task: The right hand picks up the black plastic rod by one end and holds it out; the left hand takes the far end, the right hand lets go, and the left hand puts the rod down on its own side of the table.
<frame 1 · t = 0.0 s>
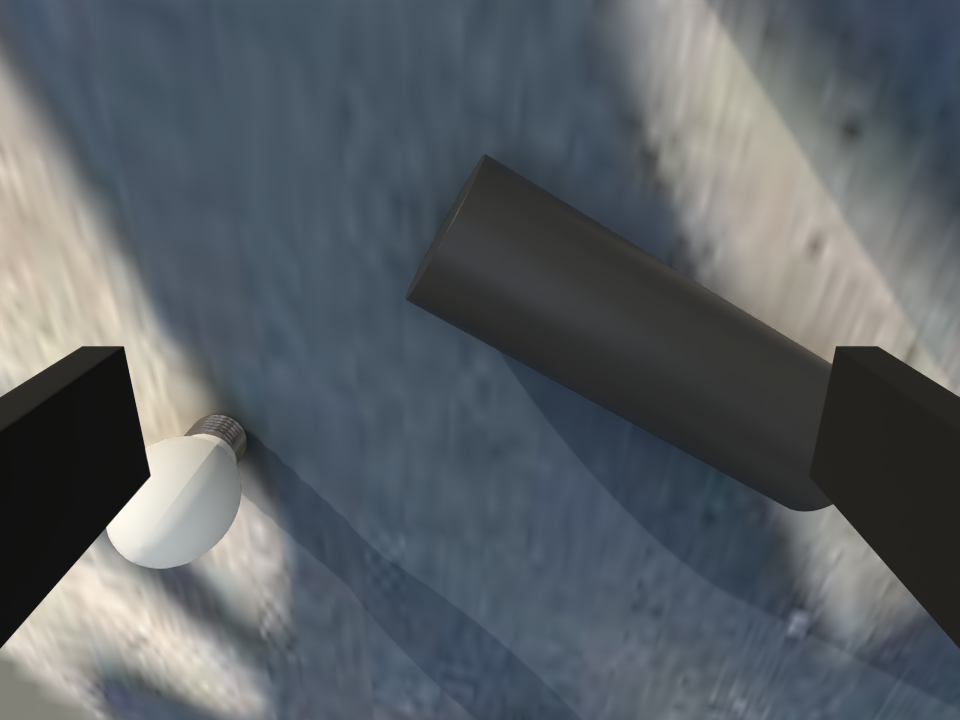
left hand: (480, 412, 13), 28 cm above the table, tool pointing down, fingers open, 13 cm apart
rod: (629, 319, 41), on the table
light bulb: (220, 441, 44), on the table
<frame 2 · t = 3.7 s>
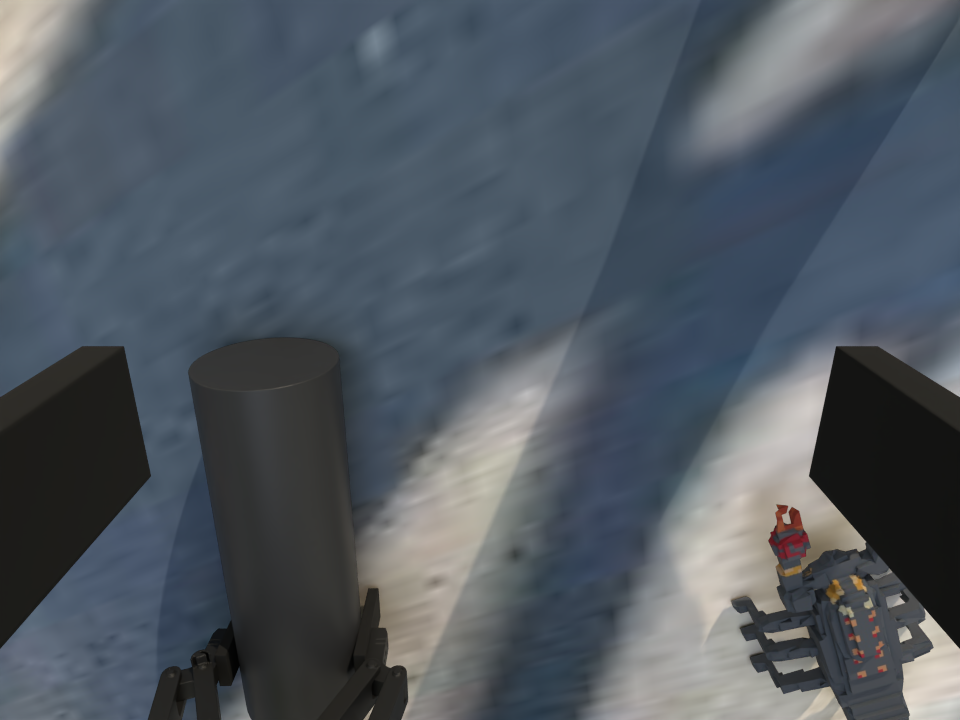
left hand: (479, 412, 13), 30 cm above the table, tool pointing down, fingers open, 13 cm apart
rod: (304, 504, 48), on the table, touching right hand
toy: (828, 589, 51), on the table
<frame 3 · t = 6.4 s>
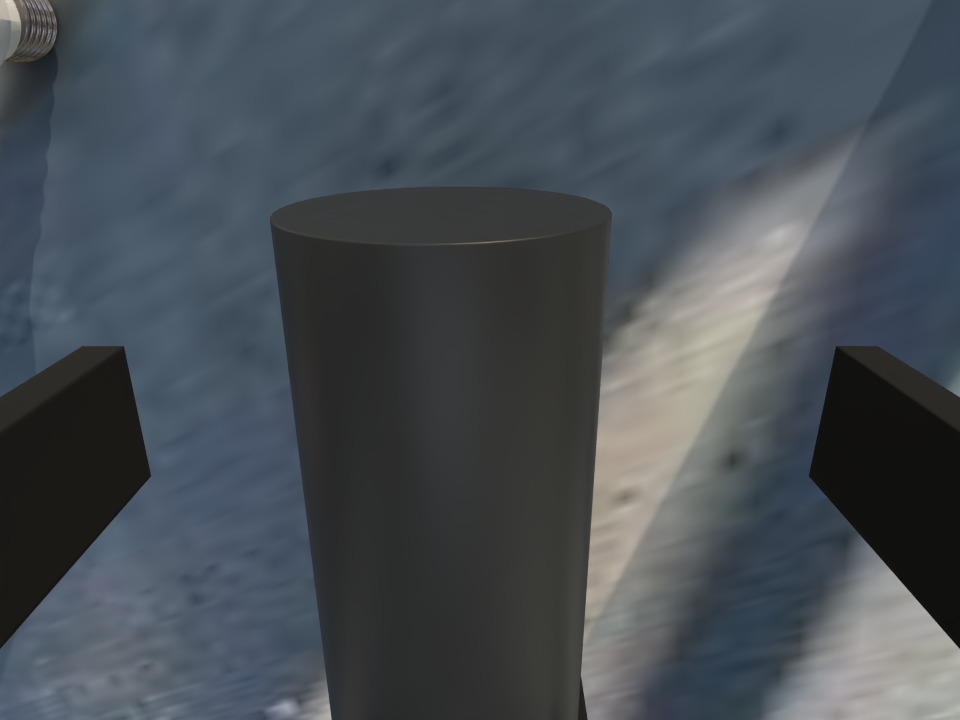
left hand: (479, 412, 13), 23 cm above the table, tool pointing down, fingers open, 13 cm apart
rod: (459, 525, 26), point 12 cm above the table, touching right hand
light bulb: (13, 21, 31), on the table
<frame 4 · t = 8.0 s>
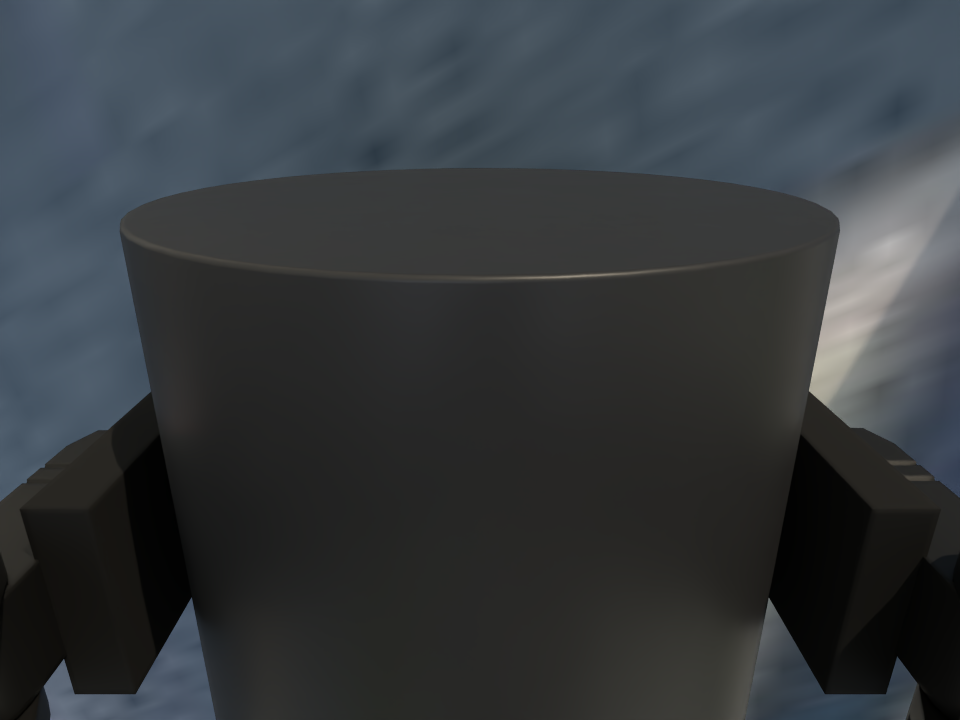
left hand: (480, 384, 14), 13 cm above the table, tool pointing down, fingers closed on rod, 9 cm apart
rod: (480, 675, 17), point 12 cm above the table, touching left hand, right hand
when the right hand's fingers open (13 cm above the table, at t = 9.1 s): rod stays where it is, held by the left hand.
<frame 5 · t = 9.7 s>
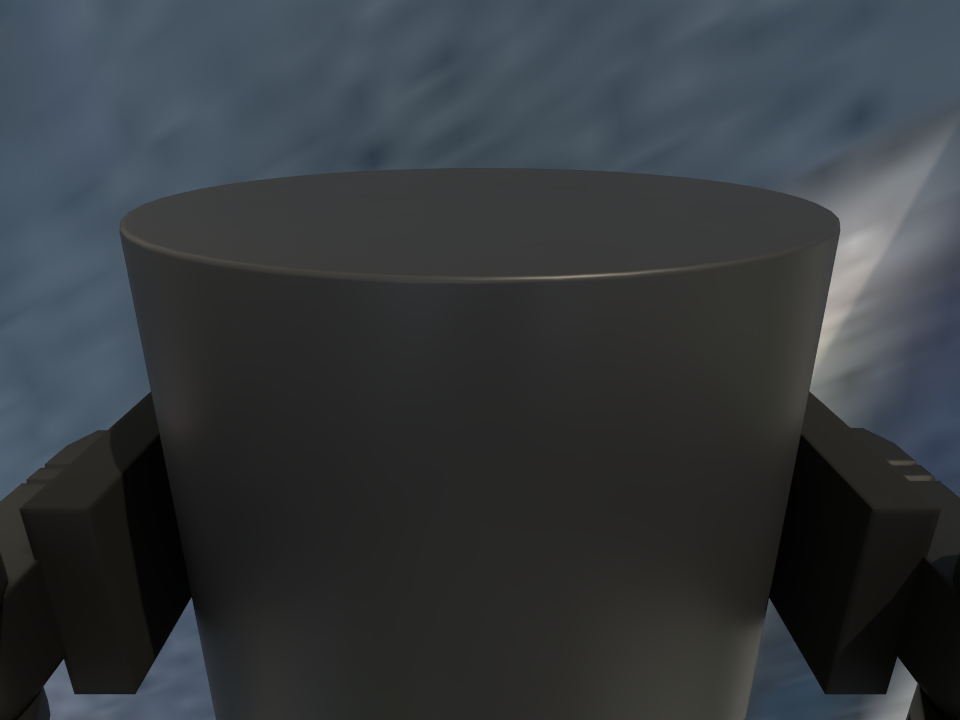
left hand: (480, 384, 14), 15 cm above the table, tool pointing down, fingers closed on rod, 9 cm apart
rod: (480, 676, 17), point 14 cm above the table, touching left hand
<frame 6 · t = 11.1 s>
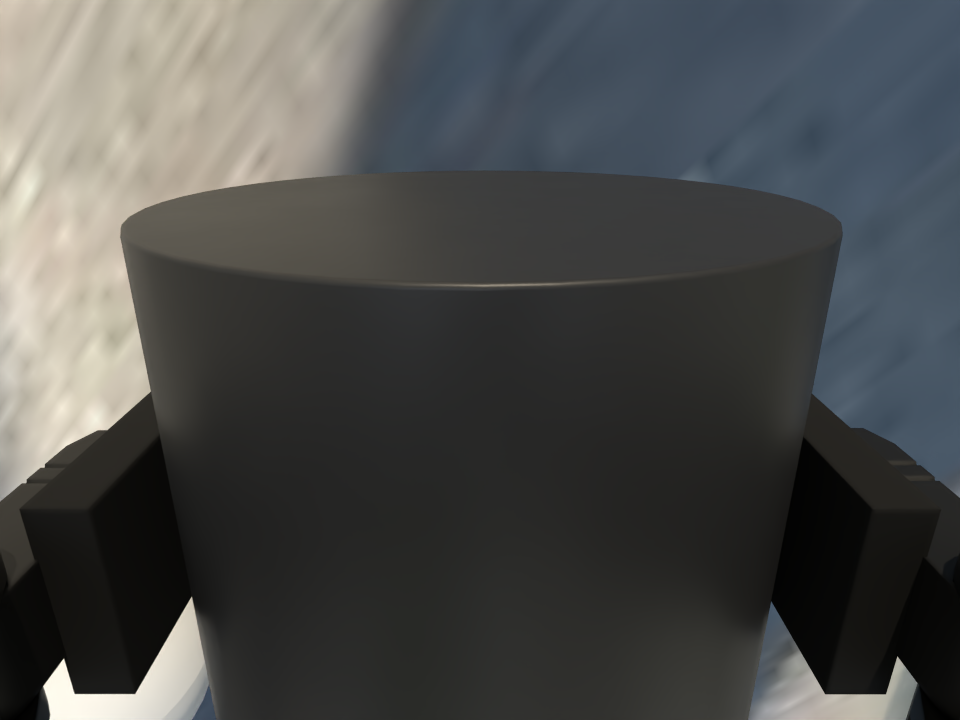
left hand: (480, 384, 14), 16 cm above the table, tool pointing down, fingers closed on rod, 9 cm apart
rod: (481, 678, 17), point 15 cm above the table, touching left hand
light bulb: (190, 566, 34), on the table
when the left hand's fingers open (2 cm above the table, at t = 14.1 s): rod drops 1 cm, on the table.
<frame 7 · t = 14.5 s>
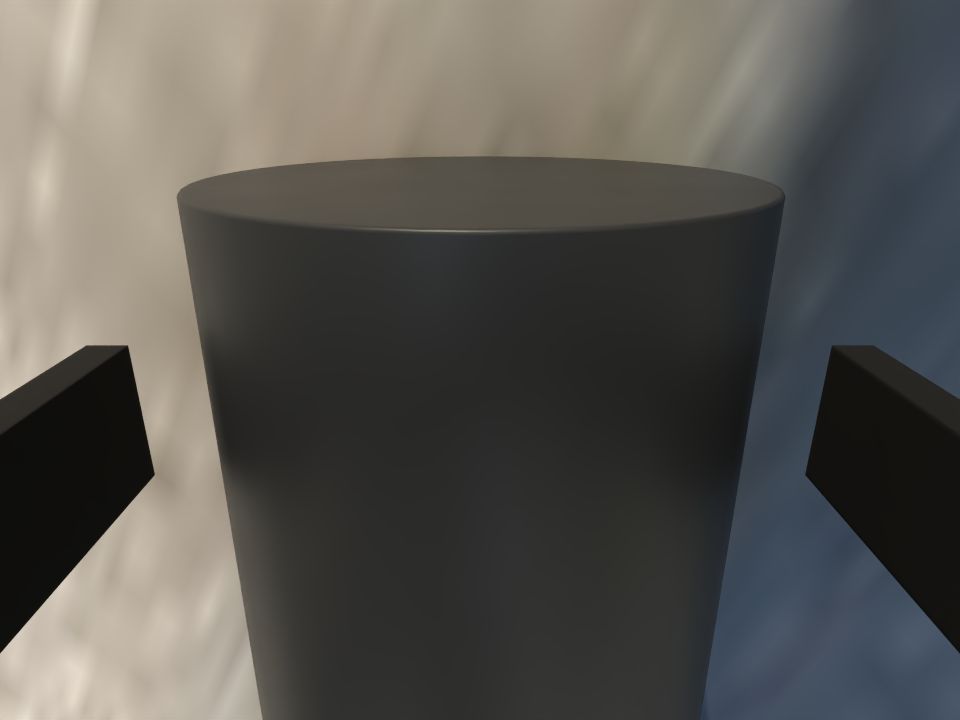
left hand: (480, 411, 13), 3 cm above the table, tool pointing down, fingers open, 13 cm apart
rod: (481, 630, 19), on the table
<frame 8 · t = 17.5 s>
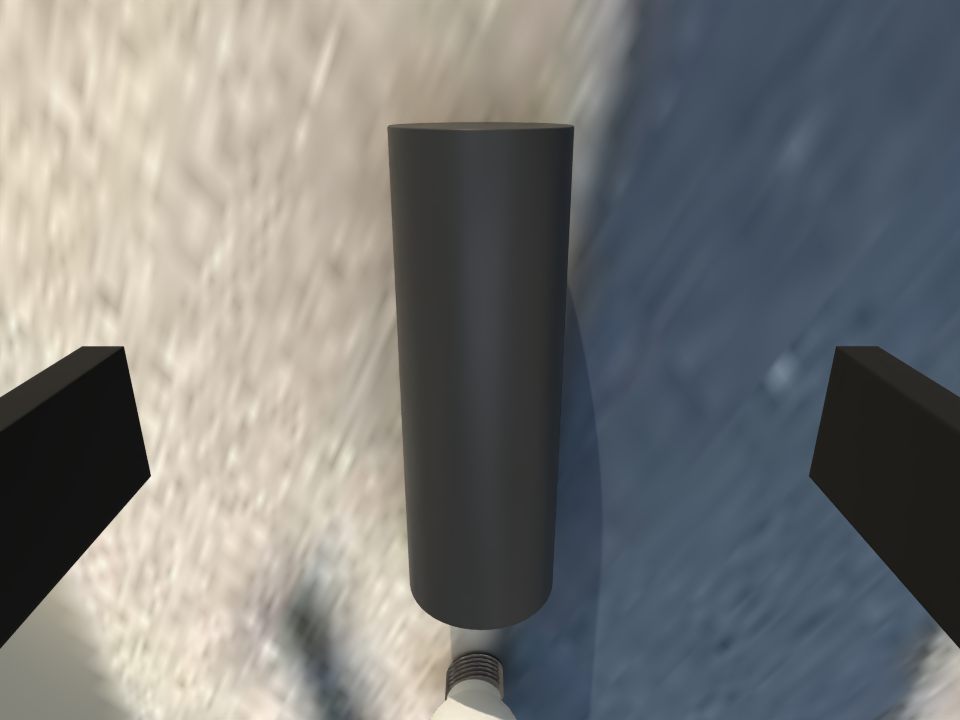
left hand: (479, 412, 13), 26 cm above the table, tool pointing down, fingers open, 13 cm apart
rod: (481, 353, 39), on the table
light bulb: (474, 671, 48), on the table
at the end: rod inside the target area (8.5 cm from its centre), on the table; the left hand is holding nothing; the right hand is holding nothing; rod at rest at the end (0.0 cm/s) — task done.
